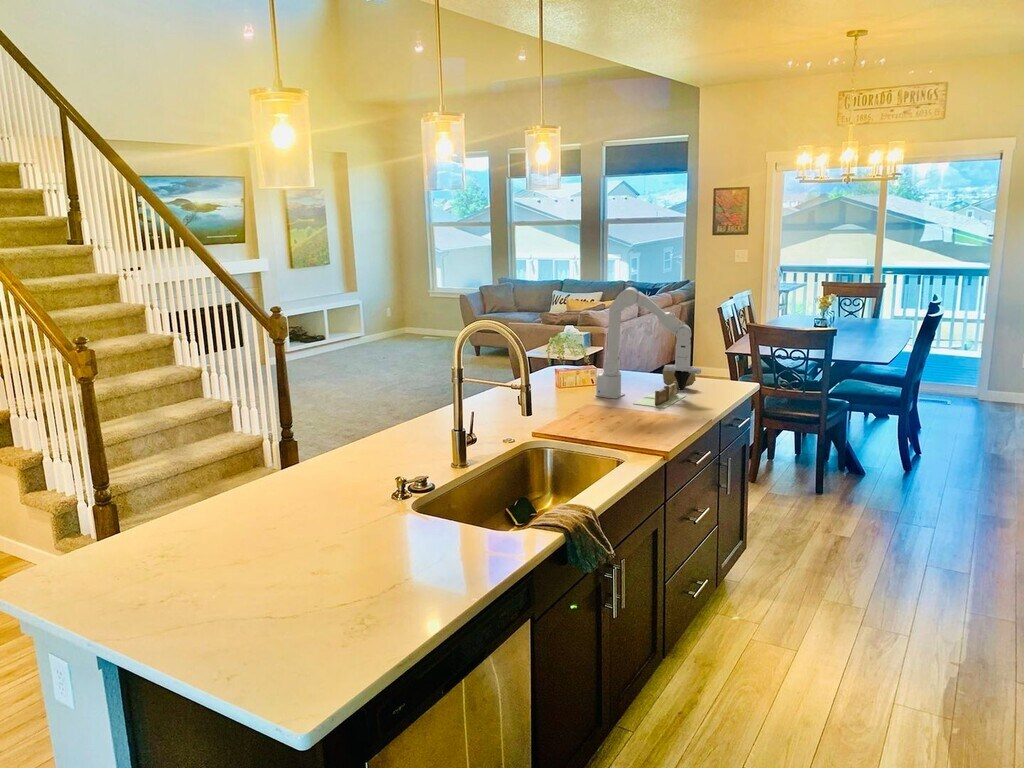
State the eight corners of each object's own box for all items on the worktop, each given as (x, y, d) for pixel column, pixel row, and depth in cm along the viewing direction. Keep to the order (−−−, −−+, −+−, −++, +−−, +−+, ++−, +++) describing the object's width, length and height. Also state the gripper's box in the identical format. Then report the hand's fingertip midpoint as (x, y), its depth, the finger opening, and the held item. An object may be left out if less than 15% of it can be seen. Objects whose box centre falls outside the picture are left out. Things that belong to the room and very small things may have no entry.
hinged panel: (669, 398, 300) (670, 385, 299) (665, 397, 301) (666, 385, 299) (677, 393, 306) (678, 381, 305) (674, 393, 307) (674, 381, 306)
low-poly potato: (654, 387, 323) (661, 380, 312) (659, 363, 326) (666, 355, 315) (688, 396, 323) (697, 389, 312) (693, 372, 326) (701, 365, 315)
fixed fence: (653, 406, 292) (654, 391, 290) (664, 399, 300) (665, 385, 299) (658, 406, 290) (658, 391, 289) (669, 400, 299) (670, 386, 298)
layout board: (633, 404, 295) (633, 403, 295) (655, 392, 313) (655, 391, 313) (664, 408, 288) (665, 407, 288) (686, 396, 306) (686, 395, 306)
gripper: (704, 356, 298) (703, 390, 301) (669, 352, 306) (668, 386, 309) (698, 359, 292) (696, 393, 295) (662, 355, 300) (661, 389, 303)
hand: (681, 390), depth 302 cm, fingers closed
